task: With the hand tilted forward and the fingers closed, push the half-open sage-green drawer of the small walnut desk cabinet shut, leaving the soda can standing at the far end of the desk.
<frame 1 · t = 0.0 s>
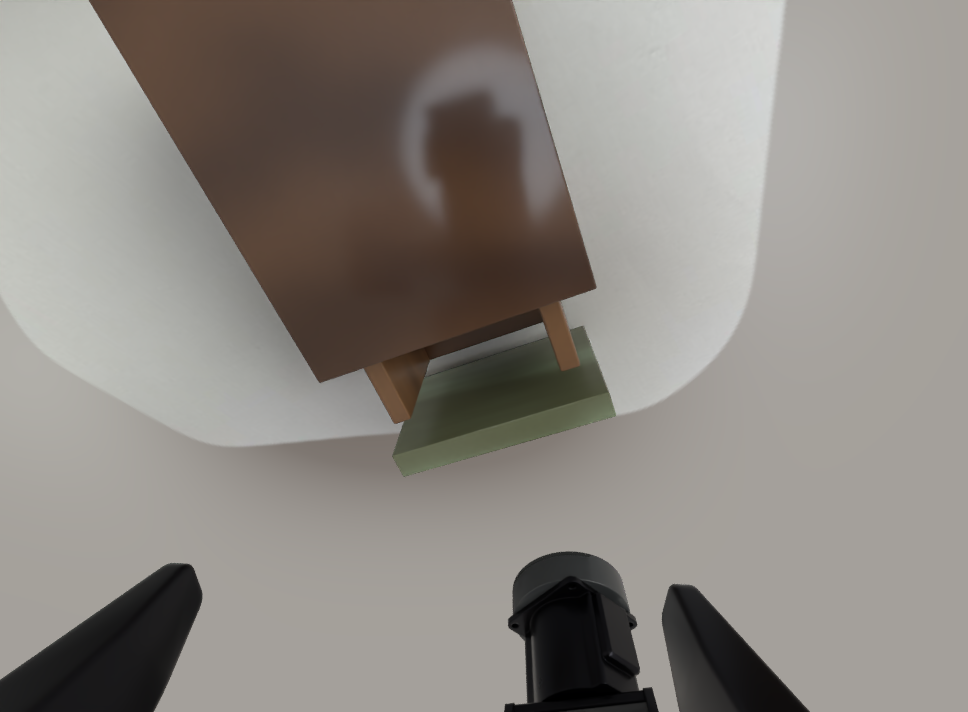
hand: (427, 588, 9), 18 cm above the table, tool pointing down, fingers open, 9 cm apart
drawer: (460, 300, 21), point 4 cm above the table, slide at 4.5 cm
cabinet: (412, 135, 22), on the table
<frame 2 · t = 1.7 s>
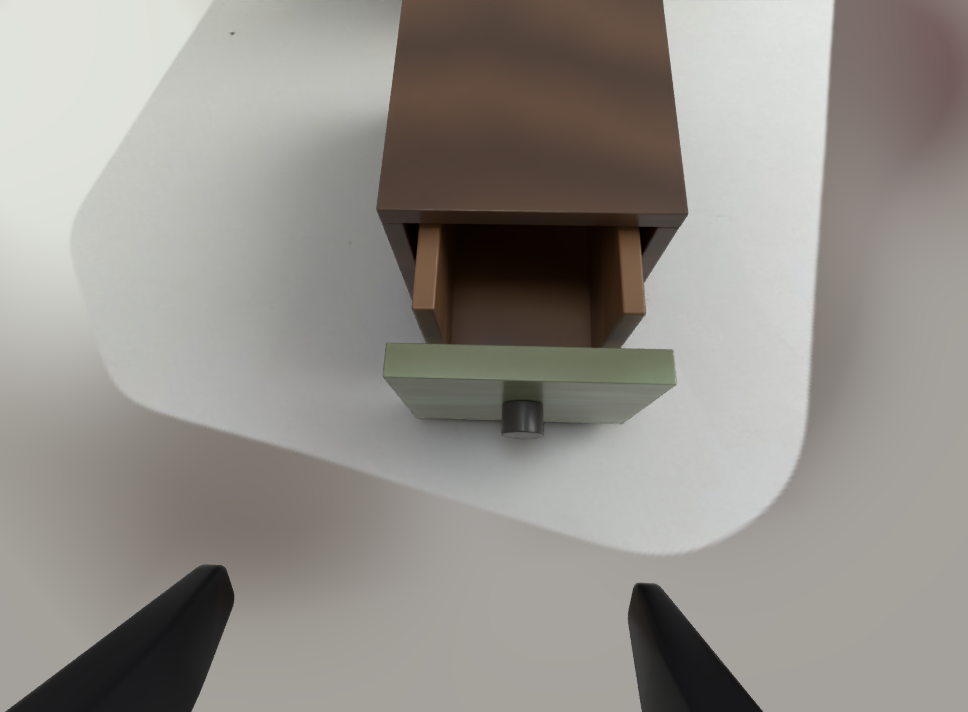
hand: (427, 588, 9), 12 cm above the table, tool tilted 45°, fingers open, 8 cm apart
drawer: (523, 274, 20), point 4 cm above the table, slide at 4.5 cm
cabinet: (520, 201, 26), on the table
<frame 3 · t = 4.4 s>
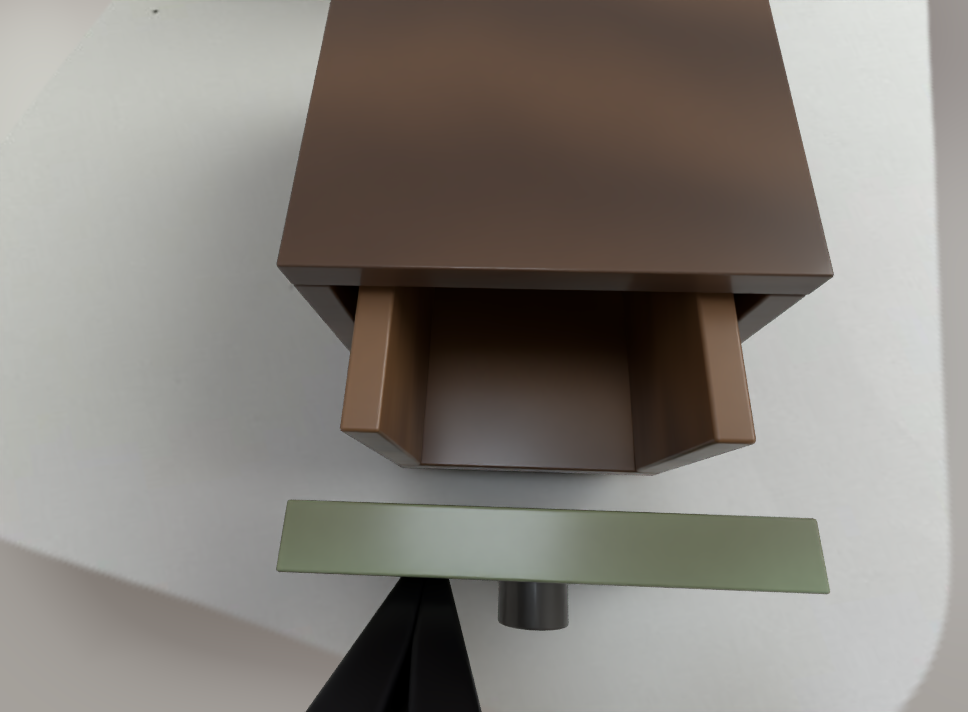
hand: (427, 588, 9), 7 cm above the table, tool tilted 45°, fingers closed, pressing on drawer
drawer: (533, 343, 13), point 4 cm above the table, slide at 4.3 cm, touching gripper
cabinet: (525, 229, 19), on the table
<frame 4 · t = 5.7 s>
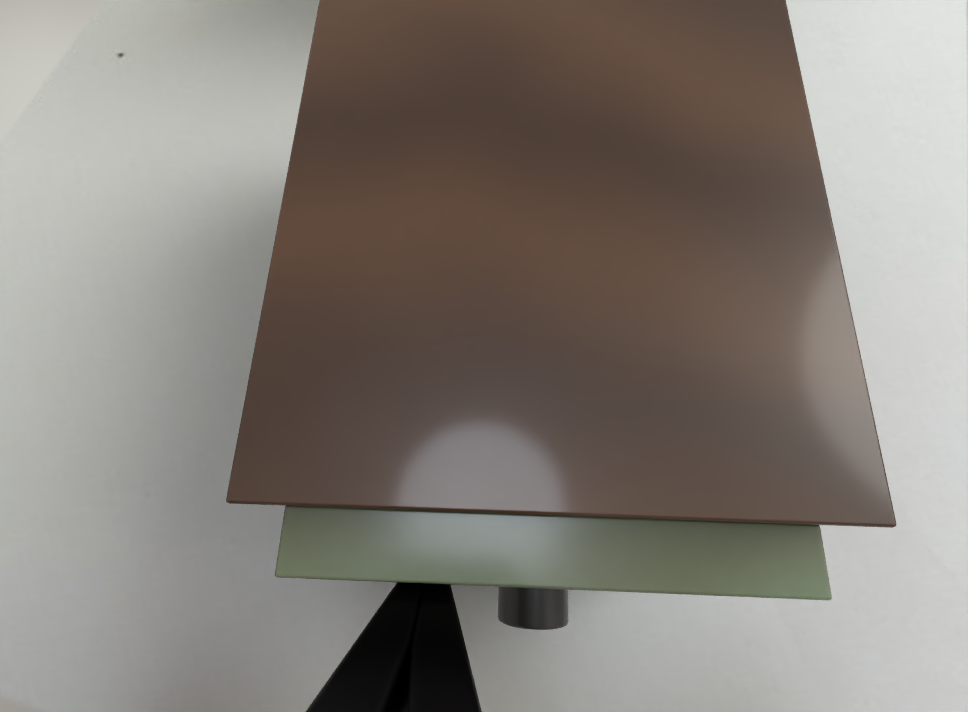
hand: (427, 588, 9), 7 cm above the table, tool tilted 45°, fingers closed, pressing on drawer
drawer: (533, 339, 13), point 4 cm above the table, slide at 0.0 cm, touching cabinet, gripper
cabinet: (525, 318, 18), on the table
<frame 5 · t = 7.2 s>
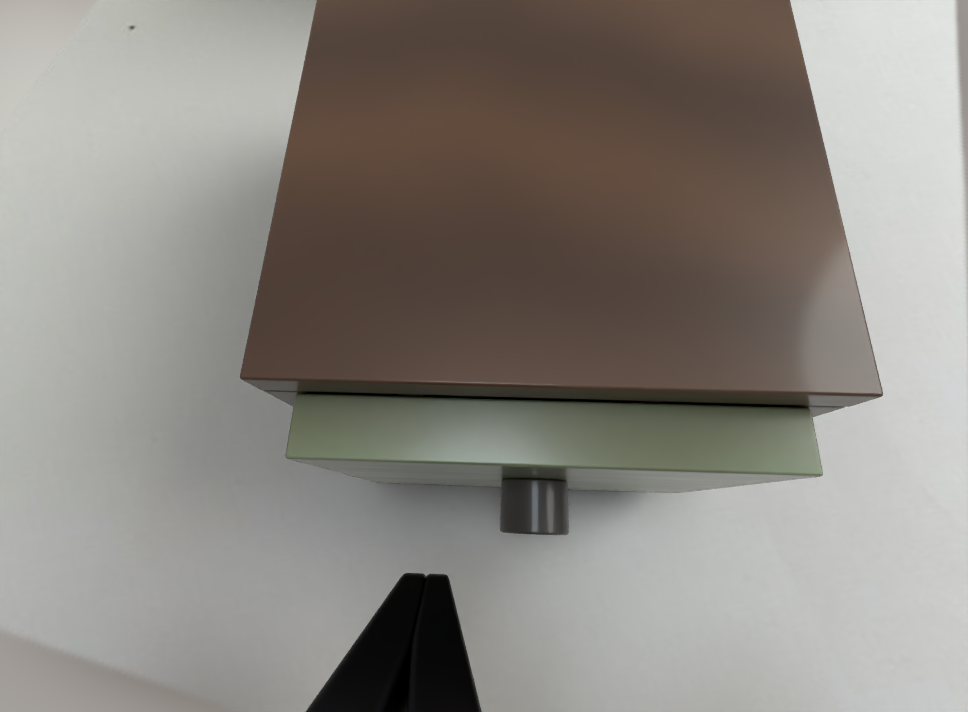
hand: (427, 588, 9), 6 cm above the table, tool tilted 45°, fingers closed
drawer: (534, 272, 13), point 4 cm above the table, slide at 0.0 cm, touching cabinet
cabinet: (525, 271, 18), on the table
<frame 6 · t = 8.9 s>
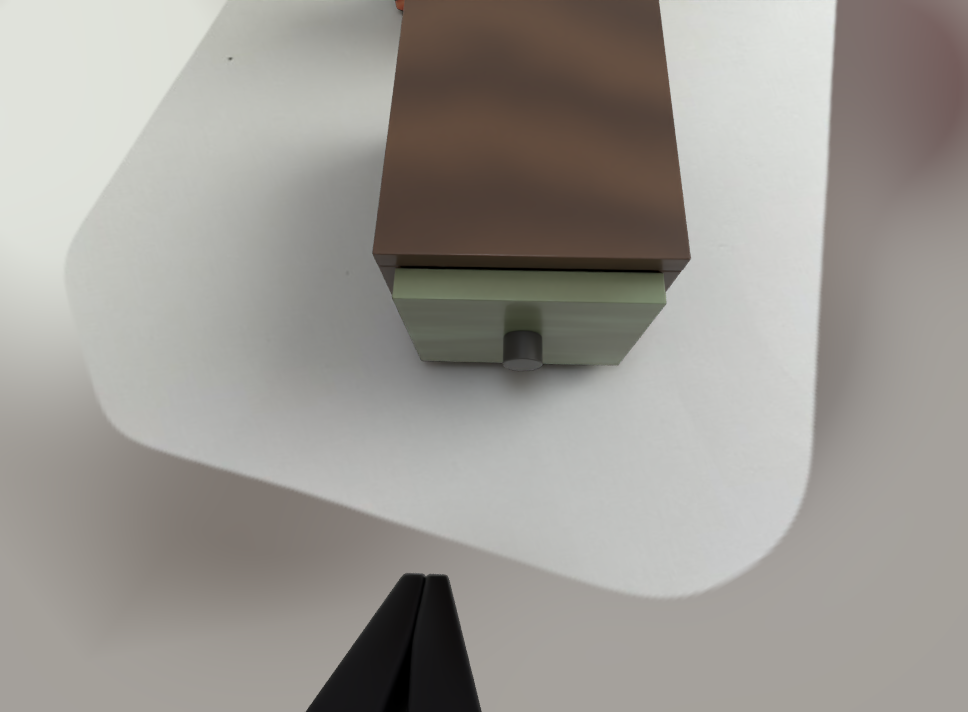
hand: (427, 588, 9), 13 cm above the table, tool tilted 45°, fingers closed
drawer: (523, 220, 21), point 4 cm above the table, slide at 0.0 cm, touching cabinet
cabinet: (519, 230, 26), on the table
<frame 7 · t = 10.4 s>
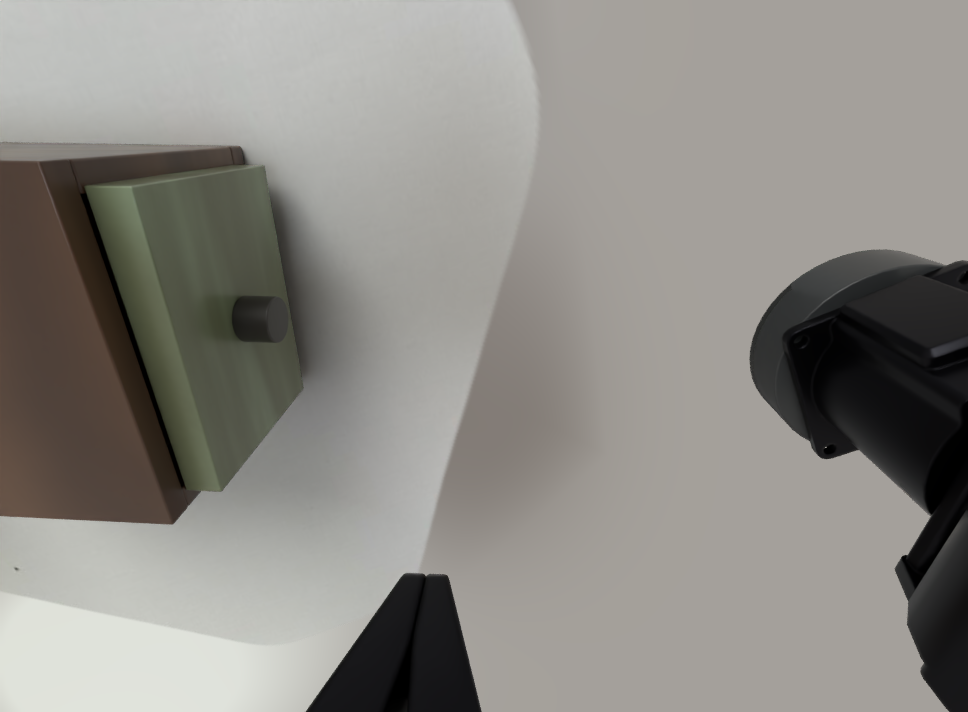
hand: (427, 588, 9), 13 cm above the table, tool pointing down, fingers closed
drawer: (86, 313, 17), point 4 cm above the table, slide at 0.0 cm, touching cabinet
cabinet: (114, 277, 21), on the table
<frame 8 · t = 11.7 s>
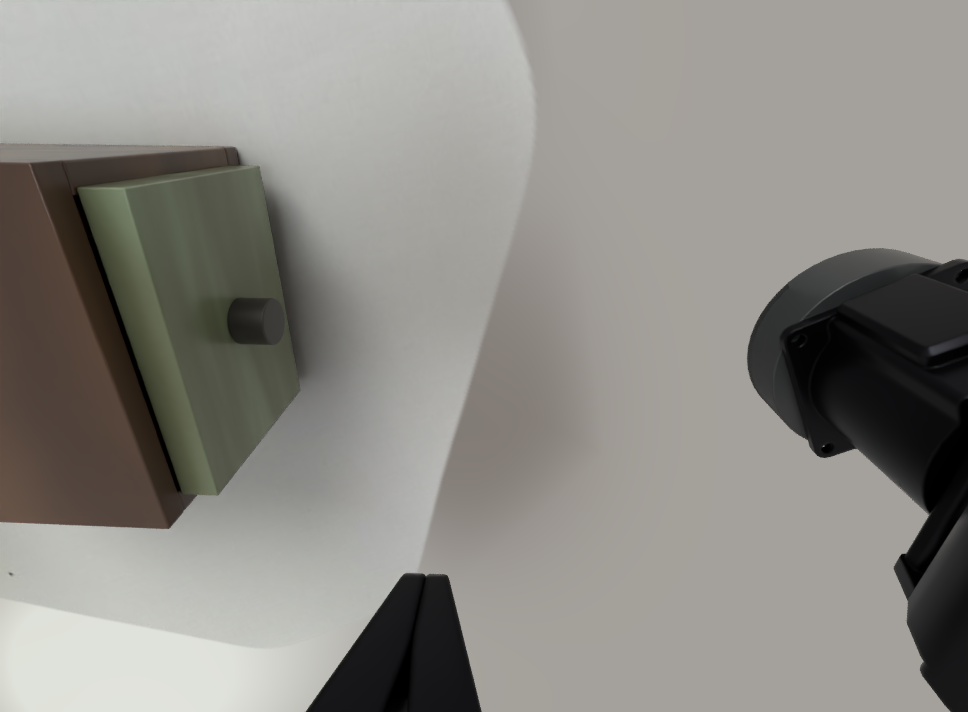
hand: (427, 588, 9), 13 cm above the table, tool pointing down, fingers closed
drawer: (80, 316, 16), point 4 cm above the table, slide at 0.0 cm, touching cabinet
cabinet: (108, 279, 20), on the table
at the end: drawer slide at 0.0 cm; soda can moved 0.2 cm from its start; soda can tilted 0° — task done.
